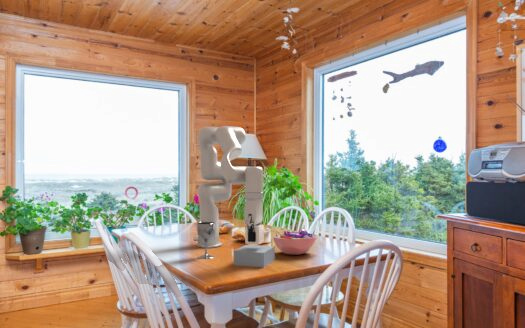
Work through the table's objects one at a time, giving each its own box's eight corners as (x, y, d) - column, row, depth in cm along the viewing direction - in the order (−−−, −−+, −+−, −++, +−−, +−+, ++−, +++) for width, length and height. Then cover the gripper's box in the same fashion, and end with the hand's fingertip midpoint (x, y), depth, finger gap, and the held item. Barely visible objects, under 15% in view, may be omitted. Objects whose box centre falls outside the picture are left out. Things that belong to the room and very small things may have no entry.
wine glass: (200, 259, 163) (199, 224, 163) (194, 256, 170) (194, 222, 170) (217, 257, 166) (217, 223, 167) (211, 254, 173) (211, 221, 174)
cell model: (273, 250, 181) (272, 226, 181) (315, 249, 181) (314, 225, 181) (272, 258, 164) (272, 232, 164) (319, 258, 164) (319, 231, 164)
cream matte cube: (245, 243, 156) (245, 226, 156) (250, 240, 161) (250, 224, 161) (259, 244, 154) (259, 226, 154) (264, 241, 159) (263, 224, 159)
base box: (233, 265, 154) (233, 250, 154) (246, 258, 166) (246, 244, 166) (264, 268, 149) (263, 252, 149) (274, 260, 161) (274, 246, 161)
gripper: (252, 195, 167) (253, 236, 167) (237, 197, 151) (238, 243, 151) (269, 195, 165) (269, 237, 164) (255, 198, 148) (256, 244, 148)
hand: (254, 239), depth 158 cm, fingers closed on cream matte cube, 6 cm apart
